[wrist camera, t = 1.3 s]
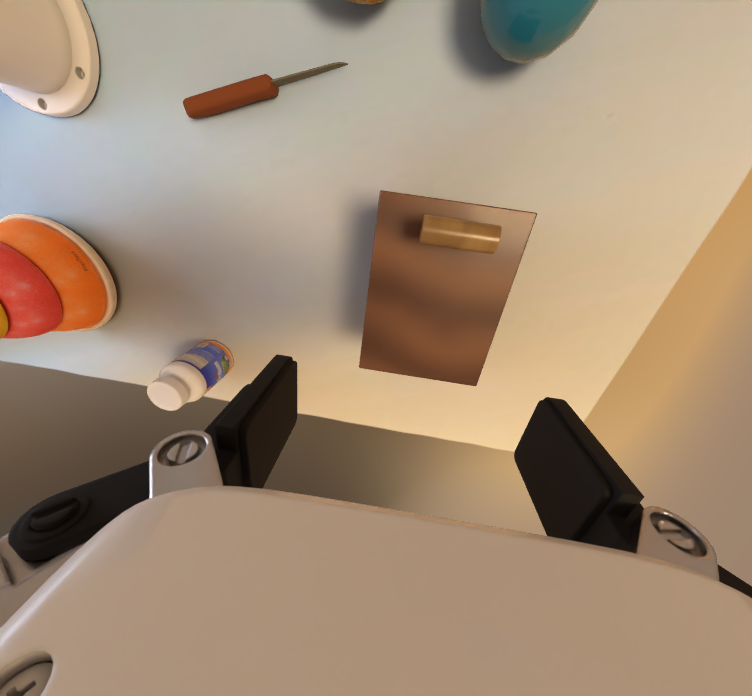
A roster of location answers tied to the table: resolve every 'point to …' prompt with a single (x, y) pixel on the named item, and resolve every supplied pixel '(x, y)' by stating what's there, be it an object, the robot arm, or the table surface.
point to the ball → (531, 26)
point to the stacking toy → (50, 279)
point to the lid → (439, 285)
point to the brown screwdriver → (245, 92)
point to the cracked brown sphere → (366, 1)
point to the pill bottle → (190, 375)
